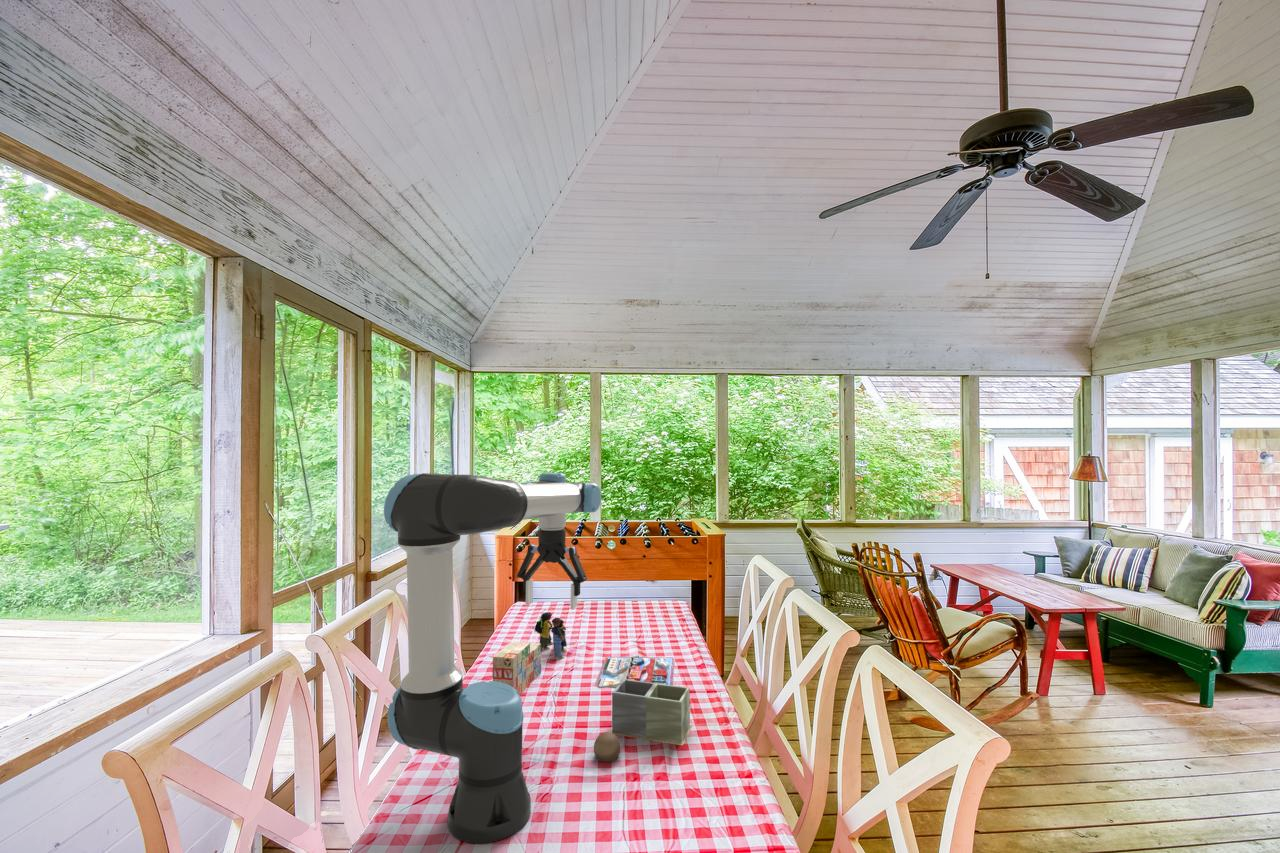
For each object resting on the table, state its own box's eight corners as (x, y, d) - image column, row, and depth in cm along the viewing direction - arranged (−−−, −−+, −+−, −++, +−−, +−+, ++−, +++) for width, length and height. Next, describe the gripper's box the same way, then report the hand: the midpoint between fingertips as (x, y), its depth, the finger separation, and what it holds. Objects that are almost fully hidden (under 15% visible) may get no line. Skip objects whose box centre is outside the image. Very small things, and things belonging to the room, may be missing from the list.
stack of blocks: (522, 671, 179) (523, 632, 180) (541, 673, 178) (541, 633, 178) (491, 700, 158) (492, 655, 159) (512, 702, 157) (513, 657, 157)
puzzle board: (605, 660, 190) (605, 652, 191) (674, 662, 188) (674, 654, 189) (590, 699, 160) (590, 689, 160) (671, 702, 158) (671, 693, 158)
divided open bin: (682, 749, 132) (682, 703, 132) (608, 737, 137) (609, 693, 138) (692, 729, 141) (692, 686, 142) (622, 719, 147) (622, 677, 147)
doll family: (582, 656, 192) (582, 616, 193) (559, 663, 186) (559, 622, 186) (545, 639, 209) (545, 603, 210) (523, 645, 203) (524, 607, 204)
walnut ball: (615, 770, 123) (615, 742, 123) (589, 765, 125) (589, 738, 125) (624, 756, 129) (624, 729, 129) (599, 752, 131) (599, 725, 131)
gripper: (598, 528, 158) (598, 605, 157) (518, 525, 166) (517, 598, 164) (588, 532, 151) (587, 613, 150) (505, 528, 158) (504, 605, 157)
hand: (551, 605), depth 157 cm, fingers open, 13 cm apart
